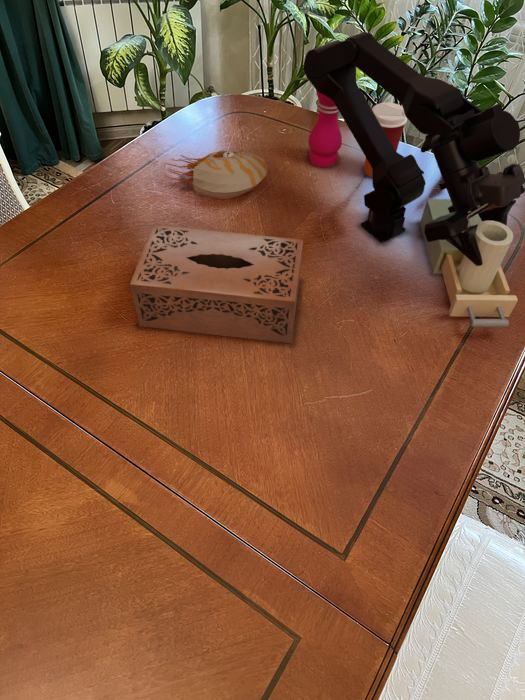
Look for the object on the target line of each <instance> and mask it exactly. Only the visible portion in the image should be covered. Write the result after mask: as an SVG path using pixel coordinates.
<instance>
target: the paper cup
mask: <svg viewBox="0 0 525 700" xmlns="http://www.w3.org/2000/svg"><path fill="white" fill-rule="evenodd" d="M371 109H372V111H373V113H374V114H375V116H376V118H377V120H378V121H379V123H380V125H381V127H382V128H383V130H384V132H385V133H386V135H387V137H388V139H389V140H390V142H391V144H392V145H393V147H394V149H395V150H396V152H398V148H399V144H400V141H401V137H402V135H403V131H404V127H405V125H406V123H407V122H408V119H407V117H406V116H405V113H404V109H403V106H402V105H400V104H398V103H395V102H389V101H388V102H387V101H386V102H380V103H377V104H375V105H374V106H373V107H372V108H371ZM363 169H364V174H365V175H366V176H367V177H369V178H372V179H373V174H372V167H371V165H370V163H369V162H368V160H367V158H366V157H365V159H364V168H363Z"/></svg>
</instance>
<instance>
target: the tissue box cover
mask: <svg viewBox="0 0 525 700" xmlns="http://www.w3.org/2000/svg"><path fill="white" fill-rule="evenodd" d="M303 248H304V239H300V238H292V237H282V236H274V235H273V236H271V235H264V234H263V235H261V234H252V233H243V232H232V231H222V230H213V229H204V228H203V229H202V228H193V227H182V226H173V225H165V224H164V225H163V224H154V223H153V224H152V226H151V228H150V231H149V233H148V236H147V239H146V241H145V244H144V246H143V249H142V252H141V253H140V256H139V260H138V262H137V264H136V268H135V270H134V273H133V276H132V279H131V280H130V283H129V286H130V291H131V296H132V298H133V299H132V300H133V304H134V308H135V313H136V317H137V321H138V325H139V327H144V328H152V329H154V328H155V329H163V330H170V331H177V332H178V331H180V332H189V333H197V334H204V335H205V334H206V335H212V336H213V335H214V336H215V335H216V336H223V337H233V338H240V339H249V340H257V341H267V342H276V343H283V344H284V343H285V344H292V342H293V333H294V326H295V317H296V310H297V302H298V295H299V286H300V278H301V267H302V258H303Z"/></svg>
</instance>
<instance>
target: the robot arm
mask: <svg viewBox="0 0 525 700" xmlns="http://www.w3.org/2000/svg"><path fill="white" fill-rule="evenodd" d="M303 61H304V62H303V72H304V74H305V78H307V80H308V81H309V82H310V84H311V85H312V87H314V90H315V91H316V90H317V91H318V92H320V93H321V94H323V95H325V96H326V97H328V98H330V99H331V100H333V102H334V103H335V105H336V107H337V109H338V110H339V112H338V113H339V114H340V116H341V118H342V119H343V121H344V122H345V124H346V126H347V127H348V130H349V131H350V133H351V134H352V136H353V138H354V139H355V142H356V143H357V145H358V146H359V148H360V150H361V152H362V153H363V155H364V156H365V158H367V160H368V162H369V163H370V165H371V167H372V174H373V178H372V188H373V190H371V191H369V192H367V193H365V194H364V195H363V201H364V206H365V208H367V209H368V214H367V218H366V220H365V221H362V222H360V227H361V228H362V229H363V230H364V231H366V232H367V233H368V234H369V235H371V237H373V238H374V239H375V240H377V241H378V242H379V243H381V244H385V243H386V242H388V241H389V240H391V239H394V238H396V237H398V236H400V235H402V234H403V233H405V232H406V228H405V226H404V224H405V221H406V217H405V215H406V211H407V208H406V207H405V206H406V205H408V204H410V203H412V202H414V201H415V200H417V199H419V198H421V197H422V196H423V194H424V192H425V186H426V185H427V184H426V180H425V177H424V175H423V174H425V172H424V170H422V168H421V167H420V166H419V164H418V162H417V159H416V157H415V156H414V155H413V154H411V153H410V154H409V155H407V156H404V155H402V154H400V153H399V152H398V151H396V150H395V149H394V147H393V145H392V144H391V142H390V140H389V139H388V137H387V135H386V133H385V132H384V130H383V128H382V127H381V125H380V123H379V121H378V120H377V118H376V116H375V114H374V113H373V111H372V108H371V106H370V104H369V103H368V101H367V99H366V97H365V96H364V94H363V92H362V91H361V89H360V87H359V85H358V83H357V69H358V70H359V71H360V72H362V73H363V74H364V75H366V76H367V77H368V78H369V79H371V81H373V82H374V83H376V84H377V85H378V86H380V88H382V89H383V90H384V91H385V92H387V93H388V94H389V95H390V96H392V97H393V98H394V99H396V100H397V101H398V102H399V103H400V104H401V106H402V107H403V109H404V113H405V116H406V117H407V121H409V122H410V123H411V124H412V125H413V126H414V128H415V129H416V130H417V131H418V132H419V133H421V134H422V135H425V138H424V141H423V143H422V145H421V148H420V152H421V153H426V152H429V151H432V154H433V157H434V159H435V162H436V164H437V167H438V170H439V173H440V175H441V178H442V182H441V183H439V184H438V187H439V189H440V191H442V190H446V191H447V194H448V197H449V199H450V200H451V202H452V205H451V206H450V207H448V211H449V213H451V214H447V215H444V216H440V217H438V218H436V219H434V220H433V221H431V222H429V223H428V224H426V225H425V228H424V234H425V236H426V239H427V241H428V242H431V241H436V240H446V241H448V242H449V243H450V244H452V245H453V246H454V247H456V248H457V249H458V250H459V251H460V252H462V253H463V254H464V255H465V256H466V257H467V258H468V259H469V260H470V261H472V262H473V263H474V264H475V265H476V266H481V265H482V264H483V263H482V258H481V254H480V251H479V247H478V244H477V241H476V238H475V233H476V230H477V227H478V225H473V226H471V224H470V221H469V219H470V218H471V217H473V216H475V215H476V214H478V215H479V217H480V219H481V220H482V222H483V221H496V222H500V223H502V224H504V225H506V226H507V227H508V216H509V213H510V211H511V209H512V207H514V205H515V204H516V203H517V200H518V199H519V198H521V195H523V194H524V193H525V187H524V184H525V173H524V171H523V169H522V166H521V165H520V163H511V164H509V165H507V166H506V167H504V169H503V171H499V172H497V173H492V172H490V169H489V167H488V166H487V165H486V164H482V165H480V164H479V162H482V161H486V160H488V159H490V158H493V157H496V156H499V155H502V154H505V153H508V152H511V151H513V150H515V149H516V148H517V146H518V144H519V143H520V140H521V128H520V123H519V122H518V120H517V119H515V117H514V116H513V114H512V113H510V112H508V111H507V110H503V105H502V104H501V103H500V102H498V103H496V104H494V105H492V106H490V107H488V108H486V109H484V110H482V109H481V108H479V107H478V106H477V105H475V104H474V103H473V102H472V101H470V100H468V99H467V98H466V97H464V95H463V93H462V91H461V90H460V89H459V88H458V87H456V86H454V85H453V84H451V83H449V82H446V81H444V80H443V79H439V78H433V77H429V76H425V75H423V74H421V73H419V72H418V71H417V70H416V69H414V68H413V67H412V66H410V65H409V64H408V63H406V62H405V61H403V60H402V59H401V58H399V57H398V56H397V55H396V54H394V53H393V52H392V51H390V50H389V49H388V48H387V47H386V46H384V45H383V44H381V43H380V42H378V41H377V40H376V38H375V36H374V35H373V34H372V33H370V32H368V31H361V32H359V33H356V34H354V35H351V36H348V37H347V38H345V39H344V40H333V41H331V42H328V43H326V44H323V45H320V46H318V47H315V48H312V49H309V50H308V51H307V52H306V54H305V56H304V60H303ZM479 205H480V206H479ZM477 206H479V207H477ZM470 211H471V212H470ZM453 212H455V213H453ZM468 212H469V213H468Z"/></svg>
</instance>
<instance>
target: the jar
mask: <svg viewBox="0 0 525 700" xmlns="http://www.w3.org/2000/svg"><path fill="white" fill-rule="evenodd" d="M477 225H478V227H477V230H476V233H475V238H476V241H477V244H478V247H479V251H480V254H481V258H482V263H483V264H482V265H481V266H476V265H475V264H474V263H473V262H472V261H470V260H469V259H468V258H467V257H466V256H465V255H464V257H463V259H462V262H461V264H460V266H459V269H458V271H457V276H458V279H459V282H460V286H461V287H462V288H463V289H465V290H467V291H469V292H474V293H481V292H484V291H486V290H487V289H488V288H489V287H490V285H491V283H492V281H493V279H494V277H495V275H496V273H497V271H498V269H499V267H500V265H501V266H502V263H503V261H504V259H505V256H506V254H507V252H508V250H509V248H510V246H511V244H512V242H513V240H514V233H513V230H512V229H511V228H510V227H508V225H507V226H506V225H504V224H502V223H500V222H496V221H483V222H480V223H479V224H477Z"/></svg>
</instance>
